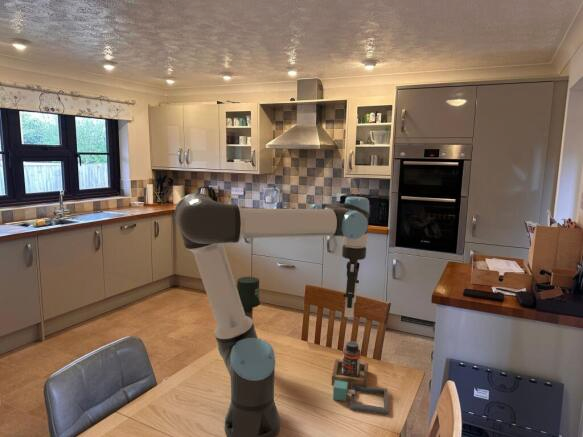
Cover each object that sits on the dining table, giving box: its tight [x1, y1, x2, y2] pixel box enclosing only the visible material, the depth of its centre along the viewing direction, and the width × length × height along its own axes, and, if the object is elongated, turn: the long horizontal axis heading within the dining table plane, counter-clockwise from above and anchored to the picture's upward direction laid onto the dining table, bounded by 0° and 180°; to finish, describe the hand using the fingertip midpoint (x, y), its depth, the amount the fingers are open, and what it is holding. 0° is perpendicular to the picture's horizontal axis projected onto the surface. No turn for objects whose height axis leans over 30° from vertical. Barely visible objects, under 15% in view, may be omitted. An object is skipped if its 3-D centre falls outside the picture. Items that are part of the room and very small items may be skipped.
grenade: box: [236, 276, 261, 320], centre depth 148 cm, size 8×9×30 cm
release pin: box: [332, 380, 356, 402], centre depth 127 cm, size 6×4×4 cm, turn 78°
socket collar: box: [349, 384, 389, 416], centre depth 126 cm, size 11×11×2 cm
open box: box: [331, 358, 369, 388], centre depth 139 cm, size 11×11×3 cm
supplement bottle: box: [342, 341, 362, 377], centre depth 138 cm, size 6×6×11 cm
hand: (350, 309), depth 134 cm, fingers open, 13 cm apart
